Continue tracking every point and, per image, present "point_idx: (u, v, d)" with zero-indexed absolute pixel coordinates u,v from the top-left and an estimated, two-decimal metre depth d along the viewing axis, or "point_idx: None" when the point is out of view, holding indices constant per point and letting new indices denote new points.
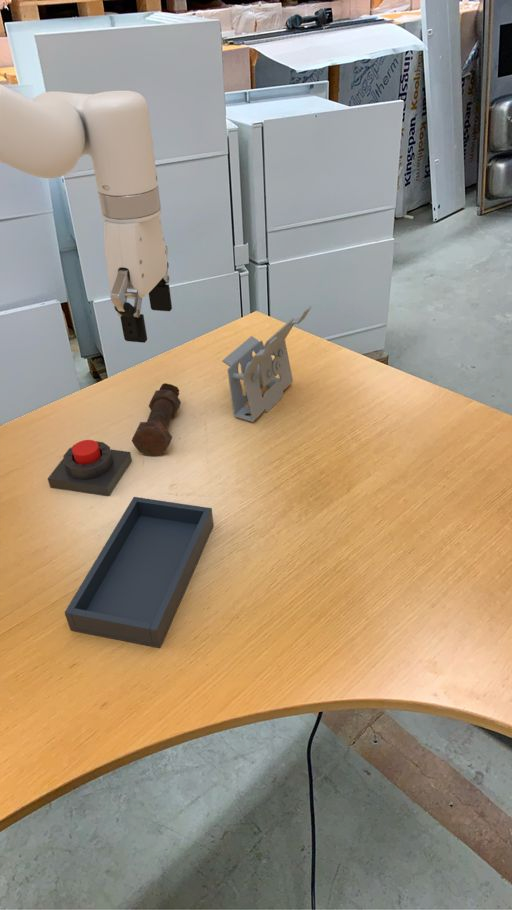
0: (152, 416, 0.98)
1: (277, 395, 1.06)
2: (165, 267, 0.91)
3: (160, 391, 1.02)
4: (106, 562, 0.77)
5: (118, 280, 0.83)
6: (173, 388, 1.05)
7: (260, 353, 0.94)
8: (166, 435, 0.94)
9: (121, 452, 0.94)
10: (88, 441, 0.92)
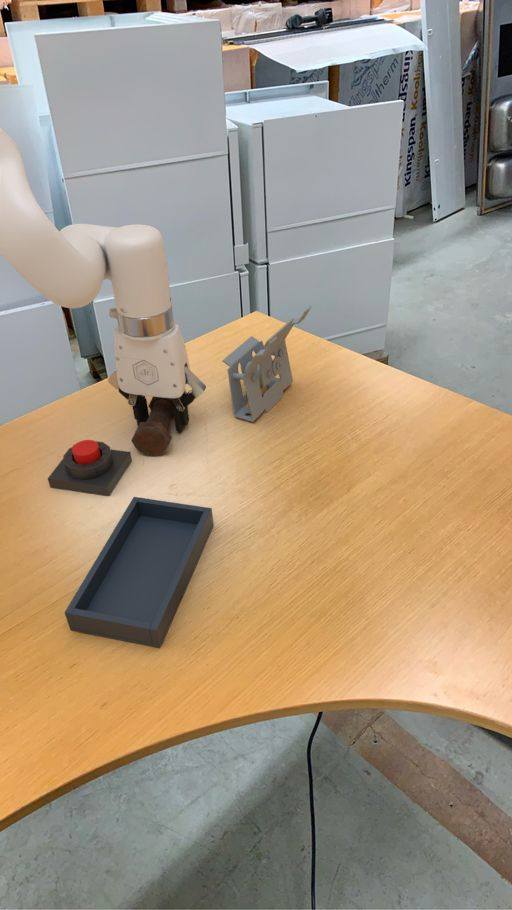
0: (152, 416, 0.98)
1: (277, 395, 1.06)
2: None
3: None
4: (106, 562, 0.77)
5: (193, 377, 0.95)
6: None
7: (260, 353, 0.94)
8: (166, 435, 0.94)
9: (121, 452, 0.94)
10: (88, 441, 0.92)
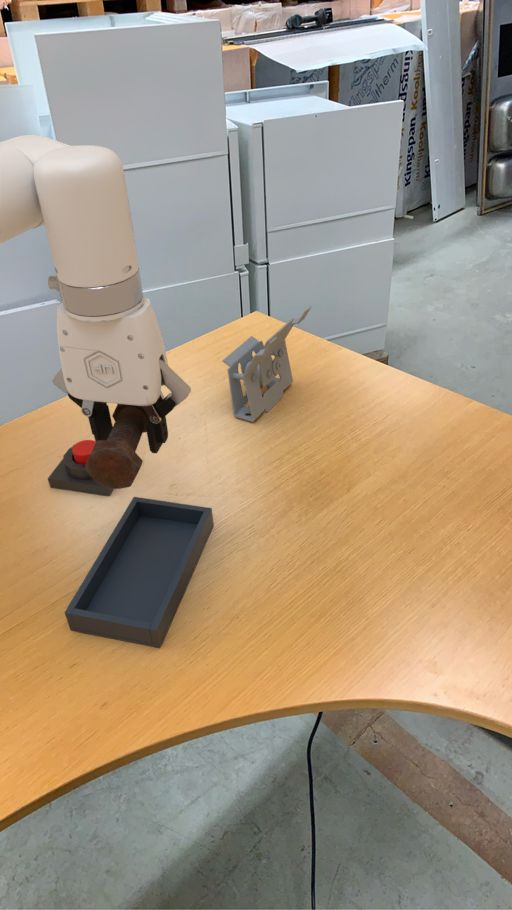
0: (115, 431, 0.69)
1: (277, 395, 1.06)
2: None
3: None
4: (106, 562, 0.77)
5: (172, 375, 0.66)
6: None
7: (260, 353, 0.94)
8: (134, 459, 0.66)
9: None
10: (88, 441, 0.92)
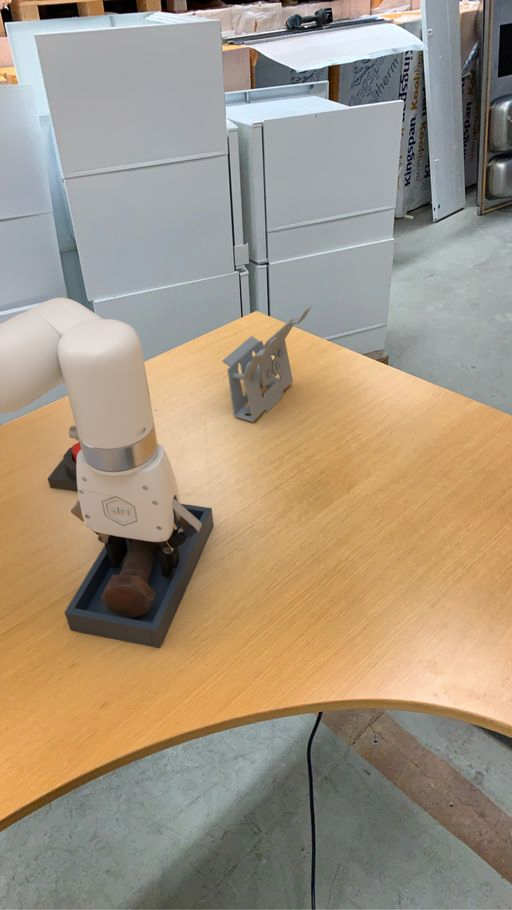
0: (129, 560, 0.73)
1: (277, 395, 1.06)
2: None
3: None
4: (106, 562, 0.77)
5: (184, 514, 0.70)
6: None
7: (260, 353, 0.94)
8: (147, 593, 0.69)
9: None
10: None
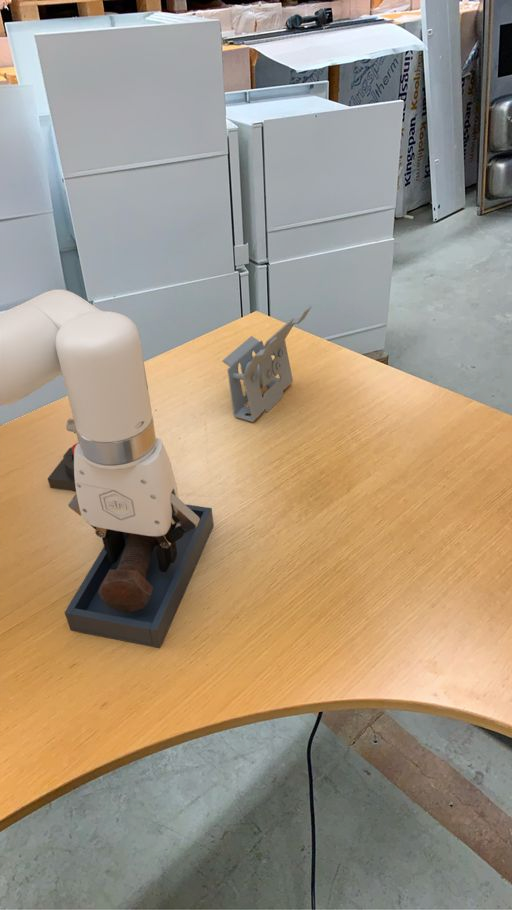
0: (127, 555, 0.72)
1: (277, 395, 1.06)
2: None
3: None
4: (106, 562, 0.77)
5: (182, 508, 0.69)
6: None
7: (260, 353, 0.94)
8: (145, 588, 0.69)
9: None
10: None
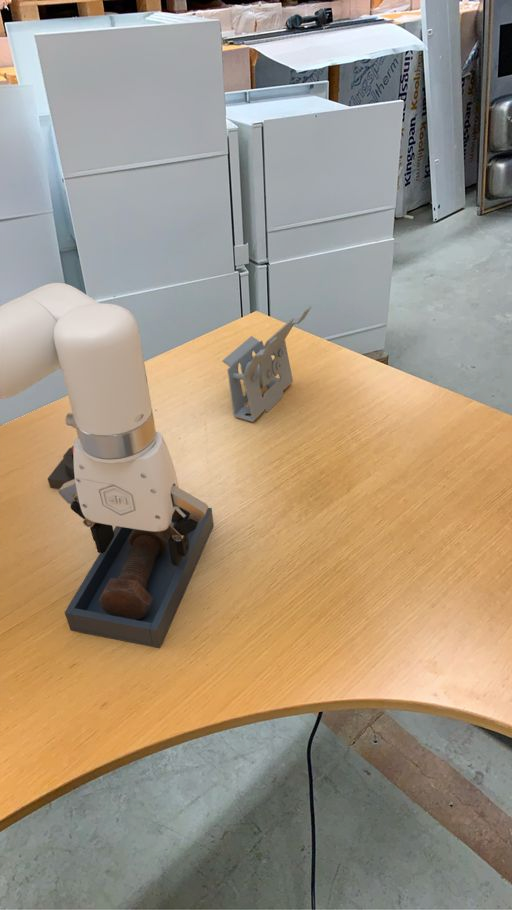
0: (129, 564, 0.73)
1: (277, 395, 1.06)
2: None
3: None
4: (106, 562, 0.77)
5: (185, 498, 0.68)
6: None
7: (260, 353, 0.94)
8: (144, 598, 0.70)
9: None
10: None
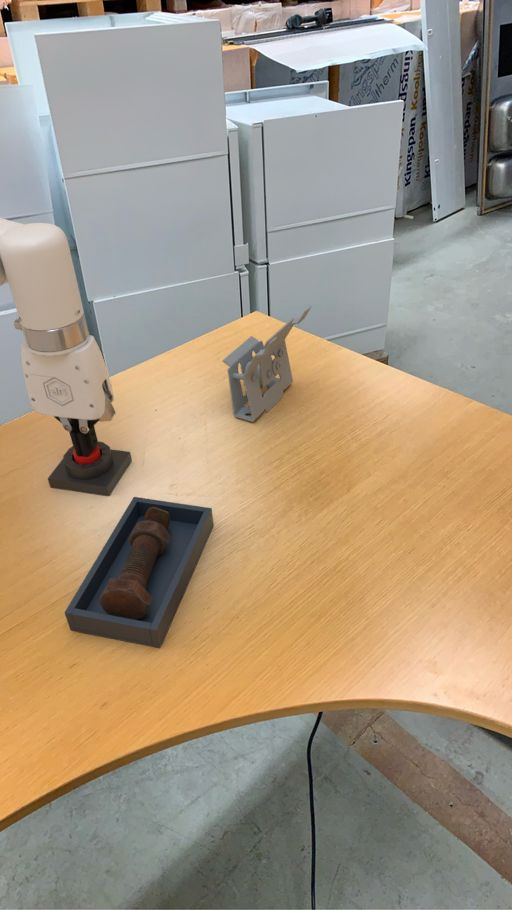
0: (129, 564, 0.73)
1: (277, 395, 1.06)
2: None
3: (143, 522, 0.78)
4: (106, 562, 0.77)
5: (106, 401, 0.84)
6: (162, 516, 0.80)
7: (260, 353, 0.94)
8: (144, 598, 0.70)
9: (121, 452, 0.94)
10: None
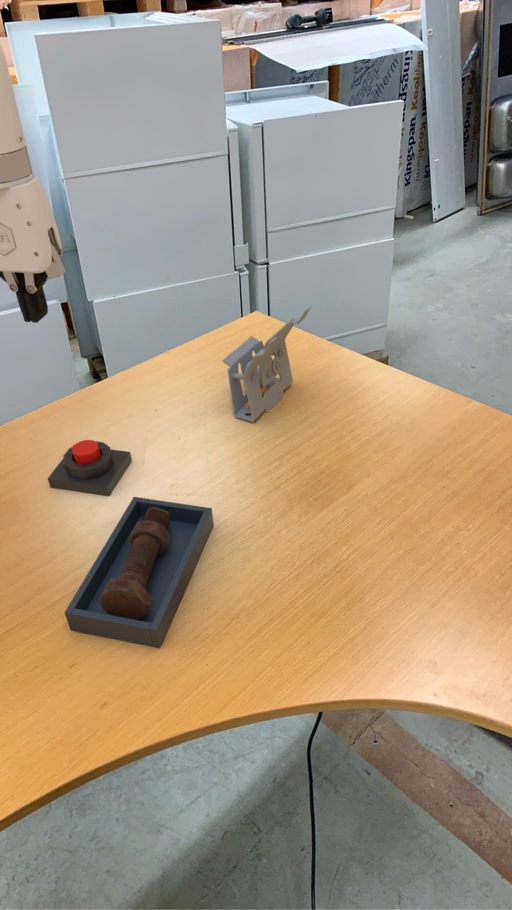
0: (129, 564, 0.73)
1: (277, 395, 1.06)
2: None
3: (143, 522, 0.78)
4: (106, 562, 0.77)
5: (54, 254, 0.78)
6: (162, 516, 0.80)
7: (260, 353, 0.94)
8: (144, 598, 0.70)
9: (121, 452, 0.94)
10: (88, 441, 0.92)
